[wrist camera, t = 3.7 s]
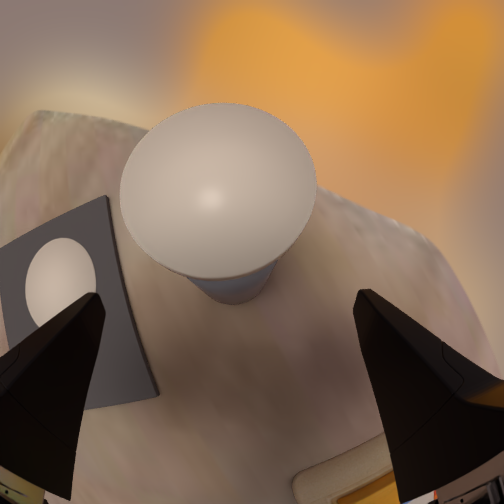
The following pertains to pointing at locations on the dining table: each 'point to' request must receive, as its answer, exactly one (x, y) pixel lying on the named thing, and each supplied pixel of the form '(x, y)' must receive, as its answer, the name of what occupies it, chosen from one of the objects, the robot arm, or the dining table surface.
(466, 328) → the dining table surface
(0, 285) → the mat
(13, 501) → the robot arm
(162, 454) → the dining table surface
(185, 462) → the dining table surface
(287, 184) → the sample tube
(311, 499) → the wooden puzzle
